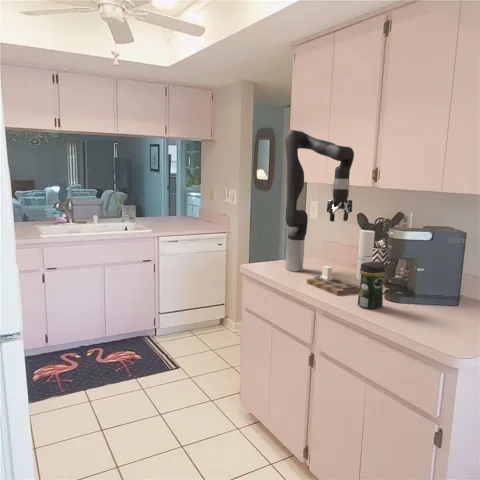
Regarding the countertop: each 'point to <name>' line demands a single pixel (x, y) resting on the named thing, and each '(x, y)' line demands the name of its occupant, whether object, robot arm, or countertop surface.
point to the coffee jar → (371, 285)
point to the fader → (326, 273)
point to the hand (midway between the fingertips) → (338, 221)
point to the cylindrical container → (365, 249)
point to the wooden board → (334, 285)
